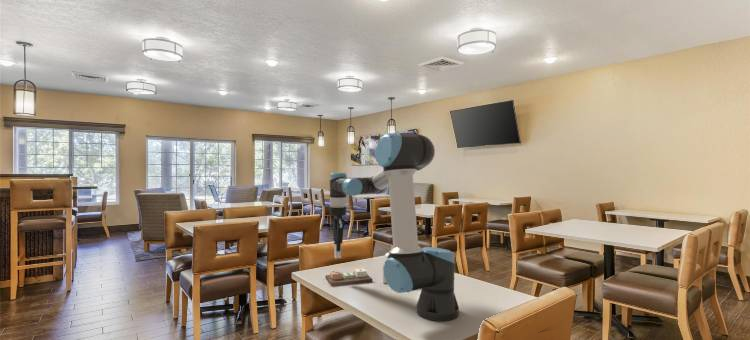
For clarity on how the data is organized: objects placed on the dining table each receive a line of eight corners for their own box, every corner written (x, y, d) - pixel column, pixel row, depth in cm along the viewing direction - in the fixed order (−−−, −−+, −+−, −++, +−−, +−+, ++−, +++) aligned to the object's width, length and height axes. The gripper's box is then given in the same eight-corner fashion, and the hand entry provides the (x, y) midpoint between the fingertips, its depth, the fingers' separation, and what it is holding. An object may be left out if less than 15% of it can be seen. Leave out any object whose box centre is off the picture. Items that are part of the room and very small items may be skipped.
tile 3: (342, 278, 169) (342, 272, 169) (332, 279, 168) (332, 273, 168) (339, 276, 174) (339, 270, 174) (330, 276, 172) (330, 271, 172)
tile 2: (354, 280, 171) (354, 274, 171) (344, 281, 170) (345, 275, 170) (351, 277, 176) (351, 271, 176) (342, 278, 174) (342, 272, 174)
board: (372, 281, 170) (372, 278, 170) (331, 286, 164) (331, 282, 164) (364, 274, 182) (364, 271, 181) (325, 278, 175) (325, 275, 175)
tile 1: (366, 276, 173) (366, 270, 173) (357, 277, 172) (357, 271, 172) (363, 273, 177) (363, 268, 177) (354, 274, 176) (354, 268, 176)
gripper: (349, 207, 166) (349, 260, 166) (342, 204, 178) (342, 253, 179) (332, 208, 163) (332, 262, 164) (327, 205, 176) (326, 255, 176)
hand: (337, 257), depth 171 cm, fingers closed
